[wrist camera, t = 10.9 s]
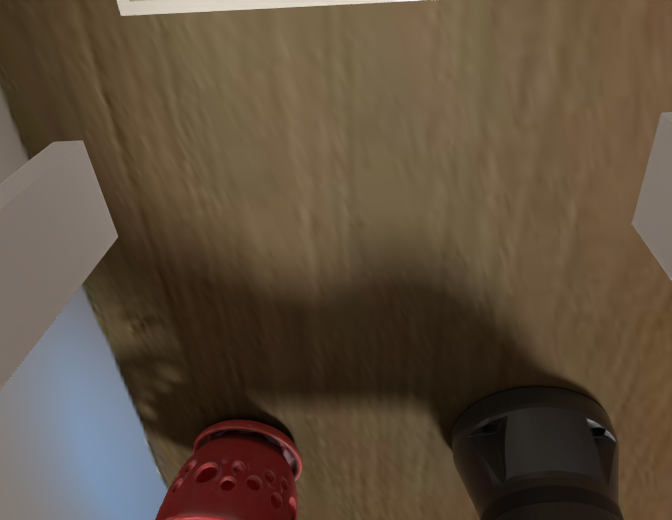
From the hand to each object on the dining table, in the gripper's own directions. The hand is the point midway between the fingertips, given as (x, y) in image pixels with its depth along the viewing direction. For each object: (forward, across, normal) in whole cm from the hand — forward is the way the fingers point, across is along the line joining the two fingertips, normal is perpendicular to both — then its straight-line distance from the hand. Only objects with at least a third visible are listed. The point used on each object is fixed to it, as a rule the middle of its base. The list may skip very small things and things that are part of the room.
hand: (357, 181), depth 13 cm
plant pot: (+24, +16, +43) cm, 51 cm away
